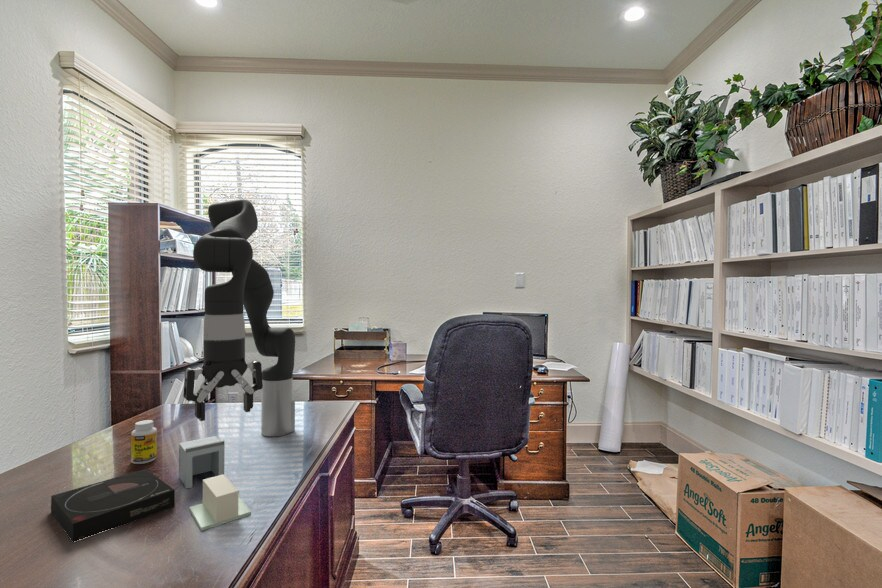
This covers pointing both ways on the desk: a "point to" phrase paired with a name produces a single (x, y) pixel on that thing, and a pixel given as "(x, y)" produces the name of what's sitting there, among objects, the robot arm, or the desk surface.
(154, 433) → the supplement bottle
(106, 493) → the portable cd player
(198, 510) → the mat
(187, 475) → the dispenser
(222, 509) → the beige rectangular block
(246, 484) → the desk surface
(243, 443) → the desk surface
